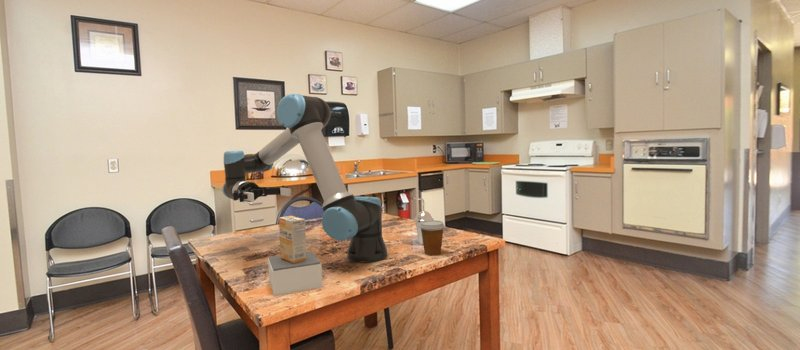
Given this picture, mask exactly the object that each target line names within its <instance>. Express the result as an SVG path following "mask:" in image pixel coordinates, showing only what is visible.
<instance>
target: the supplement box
mask: <svg viewBox="0 0 800 350" xmlns="http://www.w3.org/2000/svg"><path fill="white" fill-rule="evenodd" d="M278 224H279V228H278V229H279V249H280V255H279V256H281V258H282V259H285V260H287V261H290V262H292V263H298V262H302V261H305V260H306V252H307V241H306V238H307V237H306V218H301V217H298V216H295V215H287V216H285V215H284V216H280V217H279V218H278Z"/></svg>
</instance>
